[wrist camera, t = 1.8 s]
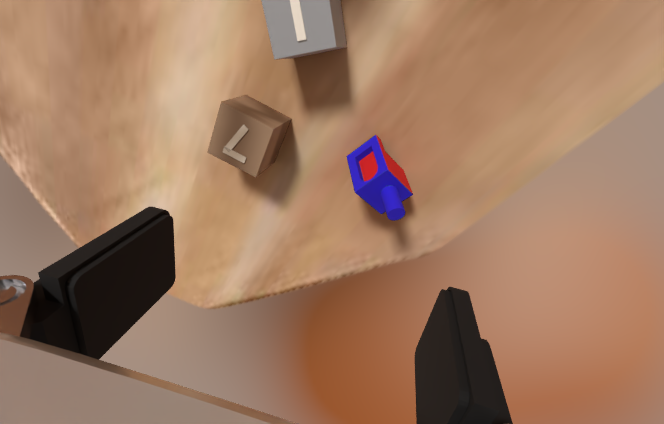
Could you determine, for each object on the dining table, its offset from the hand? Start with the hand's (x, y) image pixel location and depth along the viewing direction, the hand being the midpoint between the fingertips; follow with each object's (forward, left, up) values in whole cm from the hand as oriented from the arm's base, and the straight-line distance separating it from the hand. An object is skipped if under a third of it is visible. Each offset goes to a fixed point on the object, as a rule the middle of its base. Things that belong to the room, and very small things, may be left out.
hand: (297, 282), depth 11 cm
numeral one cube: (+6, -9, -24) cm, 26 cm away
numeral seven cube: (+11, +1, -24) cm, 26 cm away
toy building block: (-2, +3, -24) cm, 24 cm away
